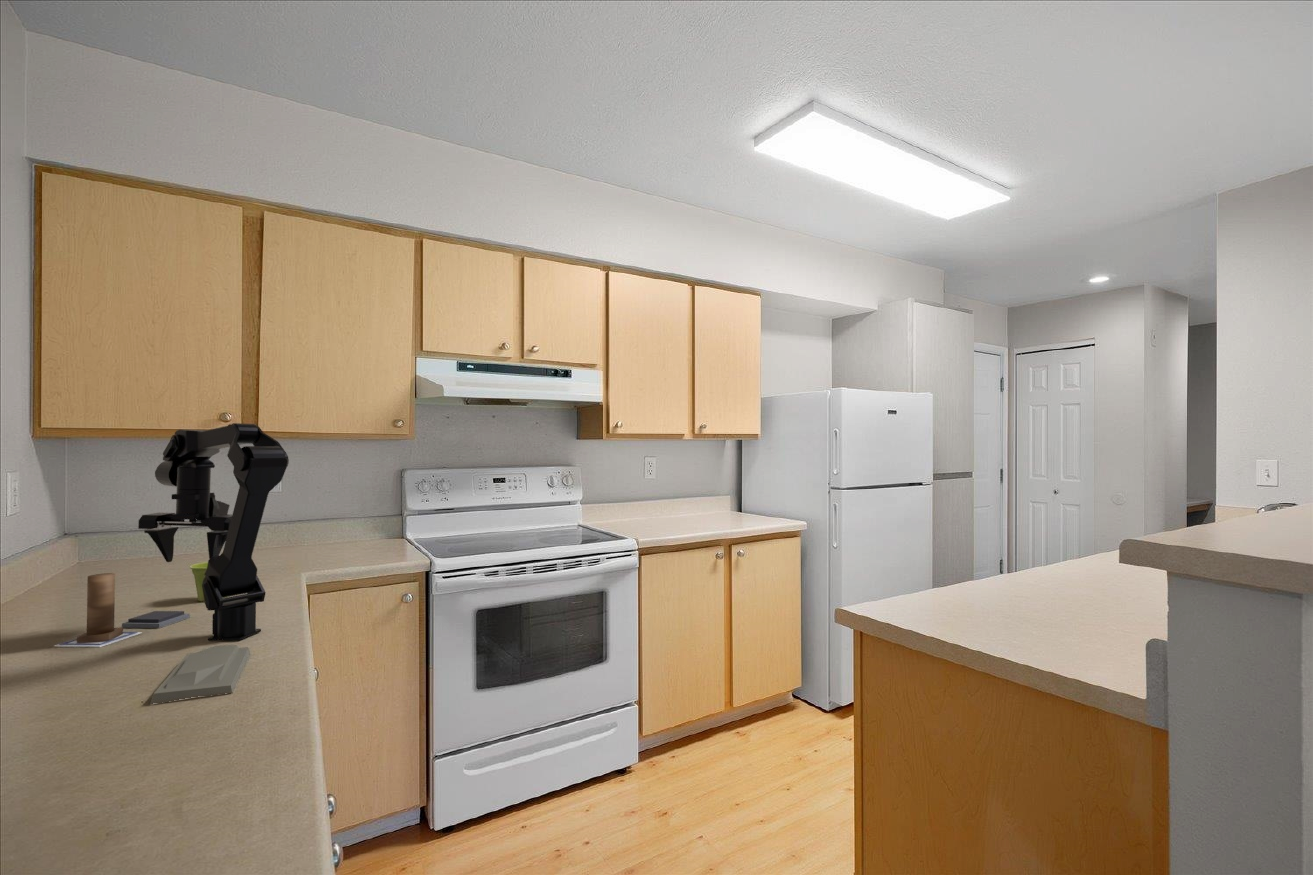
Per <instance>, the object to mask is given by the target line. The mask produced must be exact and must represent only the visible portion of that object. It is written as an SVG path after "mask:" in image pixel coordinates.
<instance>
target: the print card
mask: <svg viewBox="0 0 1313 875" xmlns="http://www.w3.org/2000/svg"><path fill="white" fill-rule="evenodd" d="M140 634H143V632H141V631H123V634H122V635H120V636H118V637H116V638H114V639H112V640H109V641H106V642H92V643H77V638H74V639H71V640H67V641H64V642H61V643H58V644H55V645H53V647H55V648H56V647H57V648H61V647H62V648H101V647H105V646H108V645H110V644H111V645H112V644H114V643H117V642H120V641H122V640H126V639H128V638H132V637H134V636H137V635H140Z"/></svg>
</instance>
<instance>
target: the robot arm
mask: <svg viewBox="0 0 1313 875" xmlns="http://www.w3.org/2000/svg"><path fill="white" fill-rule="evenodd" d="M247 444H248V445H249V446H248V445H247ZM250 444H252V445H253V446H250ZM241 445H244V446H243V447H241ZM245 445H247V446H245ZM225 448H229V449H228V452H227V456H226V457H227V458H228V460H229V461H230V463H231V464H232V466H233V469H232V470H233V476H234V477H235V480H236V481H237V484H238V485H239V488H238V492H237V495H236V499H235V503H234V508H233V511H232V514H228V512H229V510H230V509H229V508H230V504H227V503H226V502H223V501H220V500H217V499H216V495H215V492H211V479H212V478H211V477H212V476H211V474H212V469H214V468H215V467H216V466H215V463H214V462H213V461H212V460H210V459H211V457H213V456H215V455H217V454H219V453H220V452H221V450H220V449H225ZM162 455H163V456H162V460H163V462H161V463H160V464H158V466H157V467H156V469H155V470H154V477H155V479H156V481H157V482H158V483H159V484H161V485H163V486H168V487H175V488H176V493H174V494H173V493H172V494H171V500H175V501H176V502H175V512H154V513H147V514H142V515H141V516H140V518H139V519H138V521H137V522H138V523H137V524H138V525H137V528H138V529H139V530H144V532H143V533H144V534H148V536H149V537H150V538H151V539H152V541H153V542H154V543H155V545H156V547H157V548H158V550H159V551H160V553H161V555H162V557H163V558H164V561H166V563H171V562H172V561H173V559H174V547H175V546H174V544H175V535H176V533H177V531H178V529H179V526H180V527H181V526H183V527H208V528H209V529H210V531H208V532H206V539H207V540H206V541H207V548H208V550H207V551H208V561H207V562H208V566H207V570H206V572H205V574H204V575H205V578H204V580H203V583H202V589H203V595H204V601H205V602H204V601H203V602H204V604H205V608H206V610H207V611H214V613H213V614H212V621H211V622H212V631H211V632H212V636H209V637H207V640H208V641H231V642H232V641H233V642H234V641H242V640H244V639H246V638H248V637H250V636H254V635H256V634H258V633H260V632H262V629H261V628H257V627H256V626H257V623H256V622H257V621H256V620H257V614H256V613H257V603H262V602H264V601H265V597H266V590H265V588H264V587H263V584H262V583H261V581H260V578H259V577H258V567H257V566H256V563H255V562H254V560H253V558H252V557H253V553H254V549H255V546H256V542H257V538H258V536H259V535H258V534H259V531H260V528H261V524H262V519H263V515H264V512H265V508H266V504H267V501H268V497H269V493H270V492H271V491H272V490H273V489H274V488H276V486H277V485H279V483H281V482H282V480H283V479H284V476H285V473H286V470H287V468H288V466H289V461H290V459H289V456H288V453H287V452H286V451H285V449H284V448H283V446H282V445H281V443H280V442H279V441H278V440H276V439H275V438H273V437H271V436H269V435H268V434H267V433H265V432H264V431H263V430H262V429H261V427H260V426H259V425H256V424H255V423H243V422H242V423H240V422H239V423H238V422H236V423H235V422H233V423H231V424H230V423H229V424H227V425H225V426H220V427H216V428H211V429H181V428H179V429H177V430H176V431H175V432H174V434H173V435H172V436H171V437H170V440H169V442H168V444H167V445H166V446H165V449H164V450H163V452H162ZM185 520H187V521H185ZM222 549H223V550H222ZM225 597H227V598H225Z"/></svg>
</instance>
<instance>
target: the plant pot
mask: <svg viewBox="0 0 1313 875" xmlns="http://www.w3.org/2000/svg"><path fill="white" fill-rule="evenodd" d="M207 566H208V561H206V562H199V563H195V564H192V565H190V566H189V569H191V572H192V574H193V578H194V582H195V588H196V593H197V600H198V601H199V602H204V603H205V601H204V595H203V589H202V583H203V580H204V578H205V575H204V574H205V572H206V570H207ZM225 598H228V597H225Z"/></svg>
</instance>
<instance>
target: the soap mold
mask: <svg viewBox="0 0 1313 875" xmlns="http://www.w3.org/2000/svg"><path fill="white" fill-rule="evenodd" d="M250 655H252V653H251V650H250V647H249V646H244V647H239V646H238V644H227V645H226V644H225V645H222V644H221V645H214V646H210V647H208V648H204V649H202V650H199V651H196V652H192V653H186V655H185V656H184V658H182V659H181V661H180V662H179V663H178V664H177V665H176V667H174V669H173V670H172V671H171V672H170V674H169V675H168V676H167V677H166V678H165V679H164V681H163V682H162V683H161V685H159V687H157V689H156V690H155V691H154V693H152V694H153V695H152V697H151V699H150V702H149V705H150V704H153V703H161V704H163V703H162V702H168V703H170V702H169V701H174V700H179V699H185V698H191V697H198V696H210V697H212V696H211V695H217V696H219V695H218V694H225V693H232V692H233V693H234V691H235V689H236V687H237V685H238V683H237V682H239V680H240V679H241V677H240V676H242V674H243V672H244V670H245V668H246V667H247V664H248V662H249V659H251V658H250V657H251V656H250ZM247 661H248V662H247ZM239 678H240V679H239ZM236 684H237V685H236ZM235 686H236V687H235ZM233 690H234V691H233ZM233 693H232V694H233ZM225 695H226V694H225Z"/></svg>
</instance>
